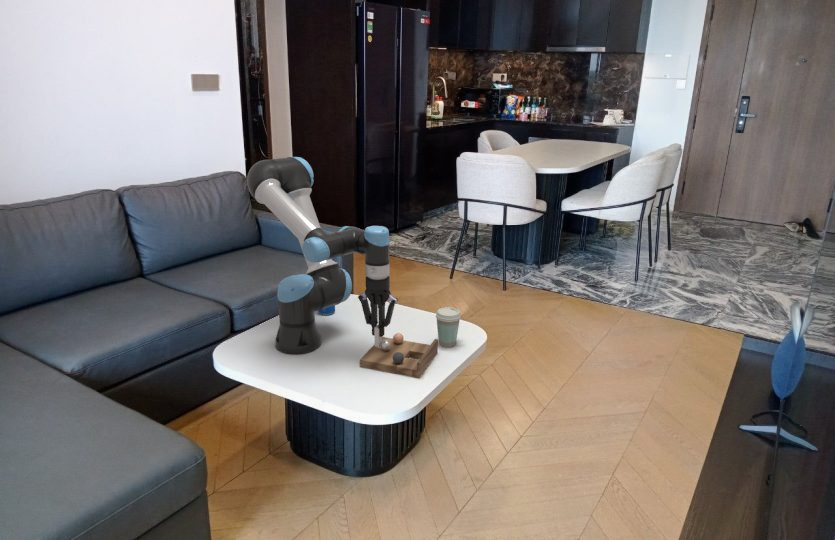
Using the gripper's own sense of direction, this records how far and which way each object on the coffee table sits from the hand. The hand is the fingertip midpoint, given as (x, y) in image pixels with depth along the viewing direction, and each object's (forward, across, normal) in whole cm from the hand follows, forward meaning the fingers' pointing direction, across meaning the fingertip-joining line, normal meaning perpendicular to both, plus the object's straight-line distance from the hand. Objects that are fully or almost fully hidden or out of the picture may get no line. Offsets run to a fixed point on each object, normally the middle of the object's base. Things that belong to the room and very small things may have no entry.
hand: (378, 344), depth 189 cm
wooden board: (+4, +7, 0) cm, 8 cm away
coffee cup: (+5, +18, +17) cm, 26 cm away
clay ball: (0, +4, +7) cm, 8 cm away
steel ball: (0, +2, 0) cm, 3 cm away
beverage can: (+4, -33, +26) cm, 42 cm away
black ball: (0, +9, -6) cm, 11 cm away
